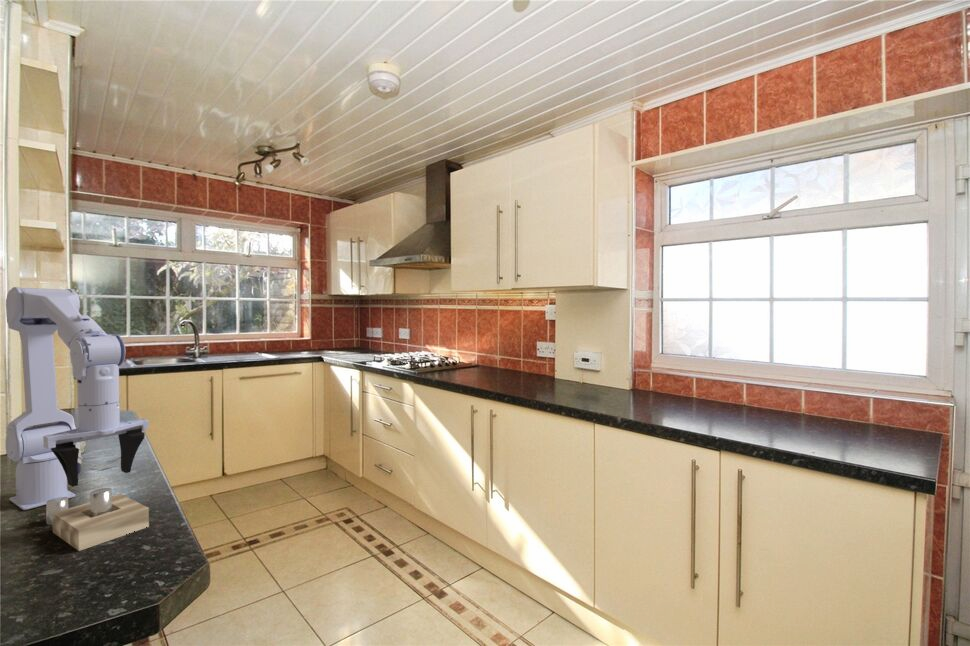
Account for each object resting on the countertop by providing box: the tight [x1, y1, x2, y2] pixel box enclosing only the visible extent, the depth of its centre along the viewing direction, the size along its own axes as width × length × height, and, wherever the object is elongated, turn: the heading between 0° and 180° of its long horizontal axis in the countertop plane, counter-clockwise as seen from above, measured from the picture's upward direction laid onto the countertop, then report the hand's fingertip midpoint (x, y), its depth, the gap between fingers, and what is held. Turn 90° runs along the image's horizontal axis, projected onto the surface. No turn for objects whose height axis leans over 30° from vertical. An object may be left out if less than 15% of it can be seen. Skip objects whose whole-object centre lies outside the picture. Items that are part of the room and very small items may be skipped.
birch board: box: [52, 493, 150, 552], centre depth 82 cm, size 12×10×4 cm
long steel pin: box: [89, 487, 113, 518], centre depth 82 cm, size 3×3×7 cm
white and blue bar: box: [76, 441, 87, 475], centre depth 118 cm, size 5×7×25 cm
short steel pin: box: [45, 497, 69, 526], centre depth 85 cm, size 3×3×4 cm
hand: (100, 478), depth 82 cm, fingers open, 7 cm apart
